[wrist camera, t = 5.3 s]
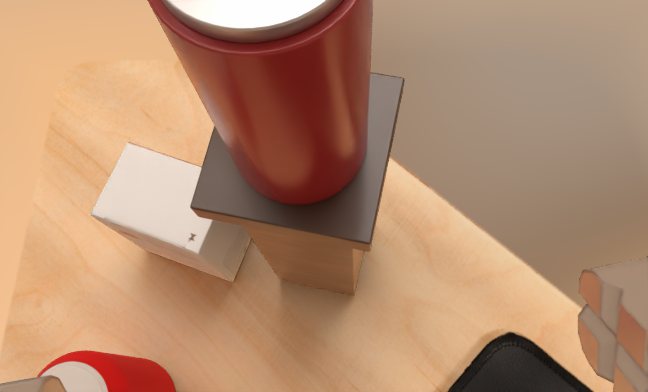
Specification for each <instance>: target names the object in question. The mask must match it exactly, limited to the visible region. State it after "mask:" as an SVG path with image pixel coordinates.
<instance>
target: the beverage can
mask: <svg viewBox="0 0 648 392" xmlns="http://www.w3.org/2000/svg"><path fill="white" fill-rule="evenodd" d="M48 375H52V376H55V377H58V378H59V379H60V380H61V382H62V384H63V386H64V388H65V389H66V391H67V392H175V387H174V384H173V381H172V379H171V377H170V376H169V374H168V373H167V372H166V370H165V369H164V368H163V367H161V366H160V365H159V364H157V363H155V362H153V361H151V360H148V359H143V358H136V357H129V356H123V355H116V354H109V353H102V352H95V351H77V352H72V353H69V354H66V355H63V356H61V357H59V358H57V359H56V360H54V361H53V362H51V363H50V364H49V365H47V366H46V367H45V368H44V369H43V370H42V371H41V373H40V374H39V375H38V376H37V377H42V376H48Z"/></svg>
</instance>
